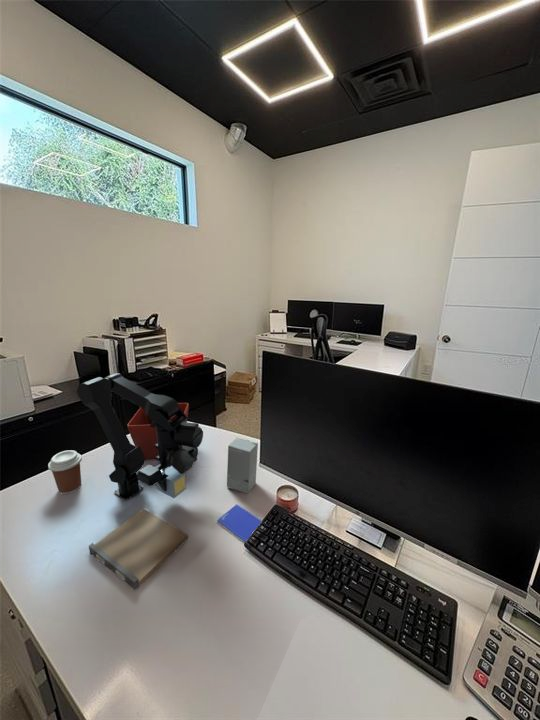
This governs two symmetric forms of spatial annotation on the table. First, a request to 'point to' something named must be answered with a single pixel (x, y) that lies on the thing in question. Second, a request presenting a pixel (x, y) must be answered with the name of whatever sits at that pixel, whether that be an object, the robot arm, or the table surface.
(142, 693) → the table surface
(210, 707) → the table surface
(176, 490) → the box
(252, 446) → the skincare box
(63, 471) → the coffee cup
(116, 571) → the shelf board
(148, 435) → the plant pot
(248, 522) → the hard drive
